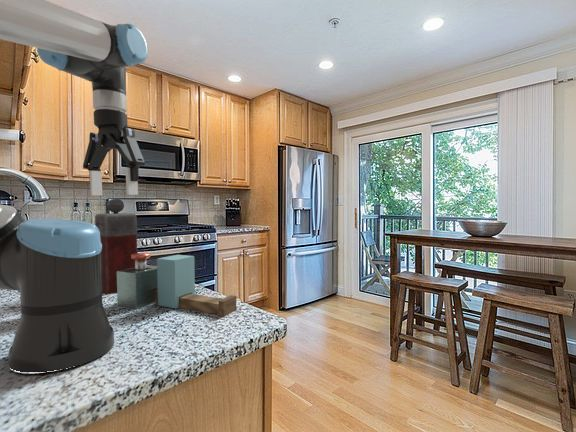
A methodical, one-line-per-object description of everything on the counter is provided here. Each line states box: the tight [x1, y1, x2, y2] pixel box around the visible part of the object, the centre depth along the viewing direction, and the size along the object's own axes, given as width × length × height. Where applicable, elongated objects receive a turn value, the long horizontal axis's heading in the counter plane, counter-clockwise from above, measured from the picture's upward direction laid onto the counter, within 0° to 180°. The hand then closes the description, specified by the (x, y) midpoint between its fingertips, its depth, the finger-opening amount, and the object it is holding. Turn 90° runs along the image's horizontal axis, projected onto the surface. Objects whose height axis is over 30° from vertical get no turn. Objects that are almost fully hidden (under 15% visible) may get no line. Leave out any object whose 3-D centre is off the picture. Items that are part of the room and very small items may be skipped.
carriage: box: [156, 254, 196, 309], centre depth 83 cm, size 6×7×12 cm
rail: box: [154, 290, 237, 317], centre depth 80 cm, size 22×5×4 cm, turn 65°
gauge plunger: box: [131, 252, 151, 271], centre depth 84 cm, size 5×5×6 cm
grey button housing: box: [116, 264, 158, 310], centre depth 84 cm, size 7×9×9 cm
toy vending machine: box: [94, 198, 138, 295], centre depth 98 cm, size 9×11×28 cm
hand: (113, 195), depth 82 cm, fingers open, 13 cm apart
